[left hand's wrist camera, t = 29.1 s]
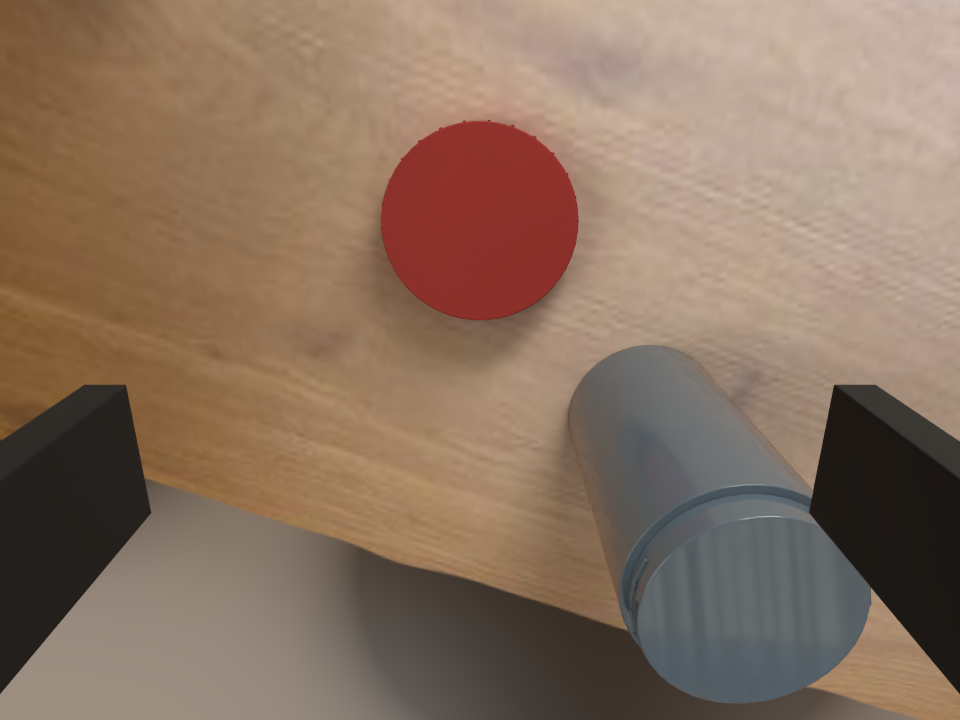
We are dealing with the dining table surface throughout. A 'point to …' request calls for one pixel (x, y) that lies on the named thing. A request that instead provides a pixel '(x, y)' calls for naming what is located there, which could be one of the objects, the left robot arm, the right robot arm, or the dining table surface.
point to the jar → (709, 533)
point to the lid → (479, 220)
